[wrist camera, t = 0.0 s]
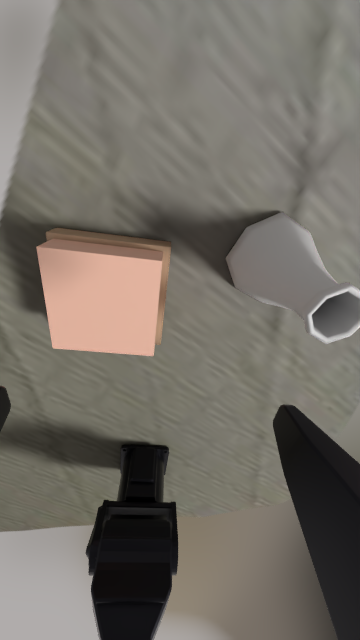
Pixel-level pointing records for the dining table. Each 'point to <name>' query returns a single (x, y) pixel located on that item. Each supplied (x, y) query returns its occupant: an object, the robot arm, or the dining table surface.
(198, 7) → the dining table surface
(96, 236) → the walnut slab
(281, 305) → the flask
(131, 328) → the terracotta slab
